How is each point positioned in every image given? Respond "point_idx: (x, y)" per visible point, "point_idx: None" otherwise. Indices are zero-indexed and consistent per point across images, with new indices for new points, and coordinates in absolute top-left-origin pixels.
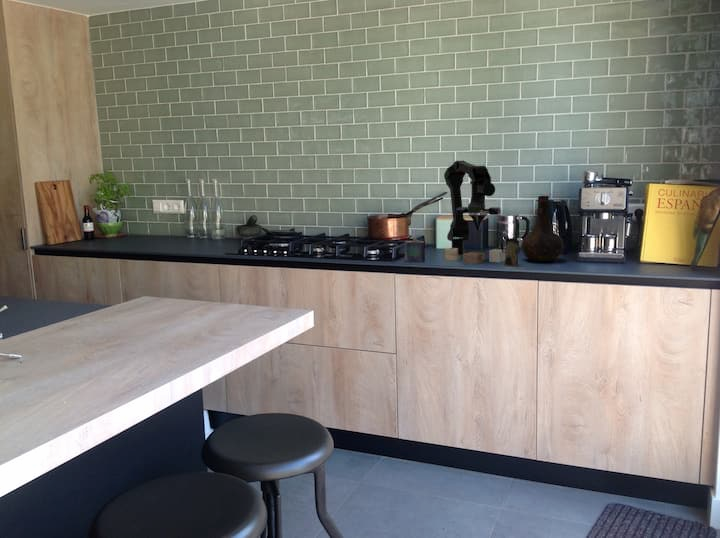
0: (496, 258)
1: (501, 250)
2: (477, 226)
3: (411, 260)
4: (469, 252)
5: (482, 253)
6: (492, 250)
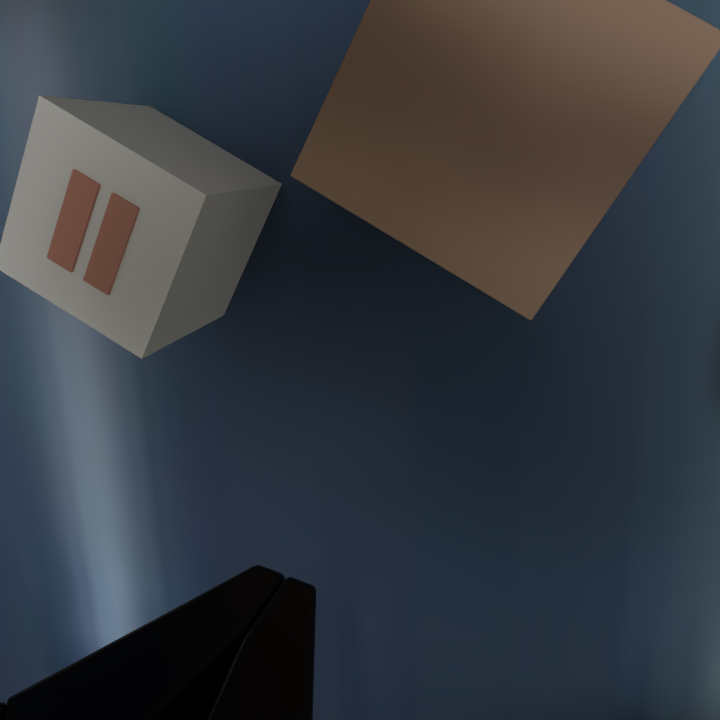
0: (160, 128)
1: (28, 186)
2: (230, 665)
3: None
4: (567, 241)
5: (331, 133)
6: (155, 179)
